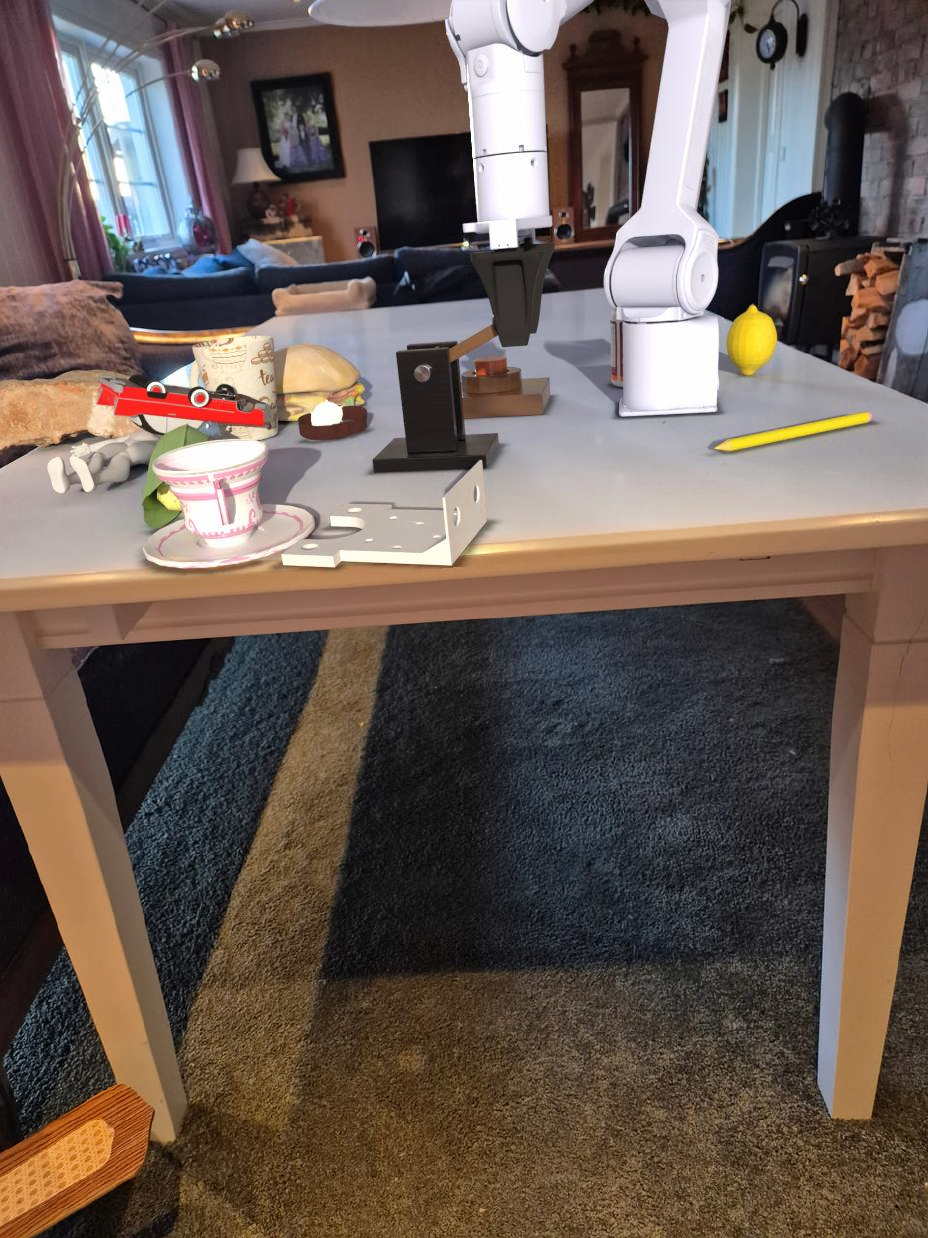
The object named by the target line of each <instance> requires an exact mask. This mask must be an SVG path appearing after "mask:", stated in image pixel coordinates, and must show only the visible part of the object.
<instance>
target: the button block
mask: <svg viewBox="0 0 928 1238" xmlns="http://www.w3.org/2000/svg"><path fill="white" fill-rule="evenodd" d="M460 377H461V389H462V400H463V412H464V419H479V418H480V419H481V418H483V419H484V418H501V417H502V418H503V417H521V416H522V417H523V416H539V415H544V414H545V413H544V412H545V410H546V408H547V406H548V403H549V400H550V398H551V383H550V381H551V380H550V377H549V376H548V377H547V376H546V377H545V376H544V377H530V378H529V377H528V378H522V368H520V367H516V366H507V372H505V373H500V374H493V375H475V368H474V369H469V370H466V371H463V372H462V373H460Z"/></svg>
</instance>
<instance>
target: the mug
mask: <svg viewBox="0 0 928 1238" xmlns="http://www.w3.org/2000/svg"><path fill="white" fill-rule="evenodd" d="M274 342H275V341H274V337H273V336H271V335H247V336H246V335H245V336H235V337H228V338H227V337H226V338H220V339H213V340H208V341H203V342H198V343H195V344H193V345H192V346H191V348H192V349H191V350H192V353H193V357H194V361H193V362H192V365H191V367H190V371H189V388H194V387H196V386H200V377H201V380H202V383H203V386H204V389H205V390H211V391H214V392H215V391H216V389H217V387H218V386H219V385H221V384H227V385H230V386H231V387H233V389H234V391H235V393H236V394H243V395H247V396H250V397H251V398H253V399H256V400H258V401H260V402H263V403H266V405H267V408H266V410H263V411H264V426H253V425H241V424H228V423H216V424H217V427H218V430H219V433H220V436H221V437H224V436H225V437H226V439H225V440H227V439H248V440H255V441H260V440H266V439H269V438H272V437H274V436H276V435H277V434H278V433H279V421H278V415H277V395H276V375H275V355H274V352H275V343H274Z"/></svg>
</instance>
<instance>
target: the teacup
mask: <svg viewBox="0 0 928 1238" xmlns="http://www.w3.org/2000/svg"><path fill="white" fill-rule="evenodd" d="M269 454H270V453H269V448H268V446H267V445H266V444H265V443H264V442H262V441H260V440H257V441H255V440H248V439H227V440H216V441H208V442H202V443H197V444H192V445H188V446H184V447H181V448H178V449H175V450H172V451H169V452H167V453H165V454H163V455H161V456H159V457H158V458H156V459H155V460H154V462H153V463H152V469H153V472H154V474H155V475H156V476H157V477H158V478H159V479H160V480H162V481H163V482H165V483H167V484H168V485H170V492H171V493H172V494H173V495H174V496H175V497H176V498H177V499H178V500H179V502H180V505H181V508H182V511H181V513H182V516H183V519H179V520H177V521H174V522H173V523H170V524H168V525H165V526H163V527H161V528H160V529H158V530H157V531H156V532H154V533H153V534H151V535H150V536H149V537H148V538H146V540H145V542H144V543H143V546H142V547H141V548H142V549H141V550H142V553H143V554H144V557H145V558H146V560H147V561H148V562H151V563H153V564H156V565H158V566H160V567H170V568H176V569H200V568H201V569H203V568H204V569H206V568H207V569H208V568H215V567H222V566H230V565H236V564H242V563H245V562H250V561H253V560H257V559H261V558H265V557H268V556H271V555H274V554H276V553H280V552H281V551H284V550H287V549H289V548H290V547H291V546H292V545H294V544H295V543H296V542H298V541H299V540H300V539H308V537H309V535H310V534H311V533H313V531H314V530H315V529H316V525H315V524H316V523H315V516H314V515H313V514H311V512H309V511H308V510H306V509H304V508H301V507H298V506H297V507H296V506H292V505H286V504H275V503H274V504H272V503H267V504H266V503H265V504H264V503H263V504H262V503H261V498H260V495H259V494H260V493H259V485H260V482H261V481H262V480H263V479H264V474H263V473H262V472H261V470H262V468H263V467H264V466H265V464H266V463H267V461H268V458H269Z"/></svg>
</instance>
